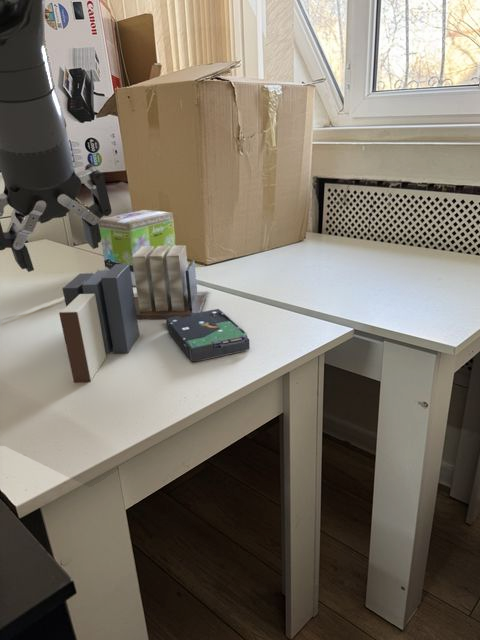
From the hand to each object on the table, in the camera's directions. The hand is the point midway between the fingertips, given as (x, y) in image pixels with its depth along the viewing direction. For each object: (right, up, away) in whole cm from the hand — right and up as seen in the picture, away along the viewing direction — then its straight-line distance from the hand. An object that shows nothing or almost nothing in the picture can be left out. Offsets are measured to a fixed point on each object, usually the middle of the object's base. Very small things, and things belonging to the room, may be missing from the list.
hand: (61, 256), depth 65 cm
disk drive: (+16, -11, +23) cm, 30 cm away
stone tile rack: (+3, -4, +38) cm, 38 cm away
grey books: (-1, -11, +23) cm, 25 cm away
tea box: (-3, +6, +60) cm, 60 cm away
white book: (-1, -15, +14) cm, 21 cm away
